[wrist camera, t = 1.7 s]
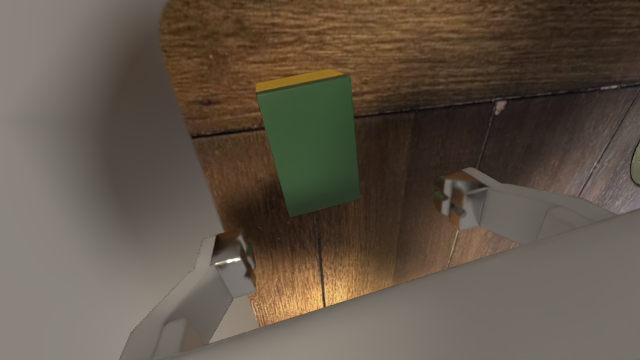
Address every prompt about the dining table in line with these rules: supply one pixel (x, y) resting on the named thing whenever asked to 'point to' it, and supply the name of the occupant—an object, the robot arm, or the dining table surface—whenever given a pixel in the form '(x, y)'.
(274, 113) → the sponge
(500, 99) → the dining table surface
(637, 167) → the plate
